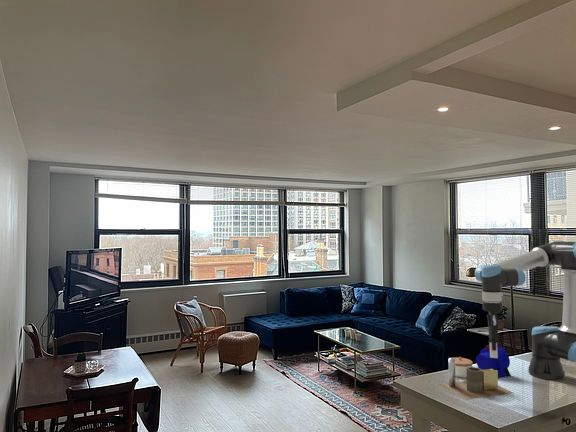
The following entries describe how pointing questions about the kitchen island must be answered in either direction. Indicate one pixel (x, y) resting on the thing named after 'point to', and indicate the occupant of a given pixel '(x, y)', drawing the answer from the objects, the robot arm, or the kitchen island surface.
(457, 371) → the lidded jar
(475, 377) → the jig
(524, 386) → the kitchen island surface
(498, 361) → the alarm clock
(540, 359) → the robot arm
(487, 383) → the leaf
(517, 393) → the kitchen island surface
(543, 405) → the kitchen island surface
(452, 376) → the pin
